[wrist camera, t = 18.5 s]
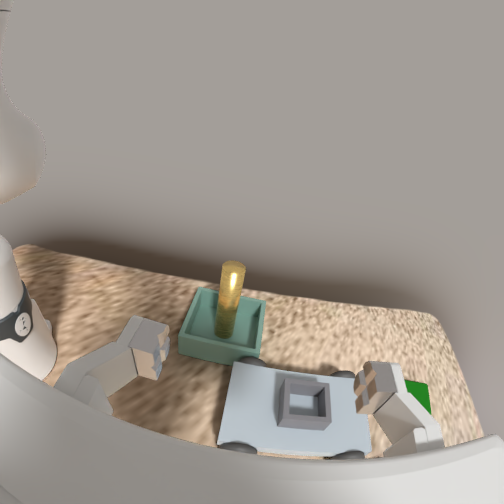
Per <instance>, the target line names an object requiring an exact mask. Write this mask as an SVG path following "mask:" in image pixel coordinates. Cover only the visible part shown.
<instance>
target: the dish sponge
mask: <svg viewBox="0 0 504 504" xmlns="http://www.w3.org/2000/svg"><path fill="white" fill-rule="evenodd" d="M404 381H405V385H406V388H407V392H408V393H411V394H412V395H413V396H414V397H415V398H416V400H417V401H418V402H419V403H420V404H421V405H422V406H423V407H424V408H425V409H426V410H427V411H428V412H429V414H430V415H431V407H430V399H429V392H428V385H427V384H425V383H419V382H414V381H408V380H404Z"/></svg>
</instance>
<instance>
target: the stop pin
mask: <svg viewBox="0 0 504 504" xmlns="http://www.w3.org/2000/svg"><path fill="white" fill-rule="evenodd" d="M245 270H246V267H245V266H244V265H243V264H242V263H240V262H238V261H227V262H225V263H224V264H223V267H222V275H221V282H220V289H219V296H218V304H217V312H216V320H215V327H214V333H215V335H216V336H217V337H219V338H221V339H228V338H230V337H231V336H232V335H233V331H234V326H235V321H236V316H237V311H238V306H239V300H240V295H241V290H242V285H243V280H244V275H245Z"/></svg>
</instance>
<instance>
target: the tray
mask: <svg viewBox="0 0 504 504" xmlns="http://www.w3.org/2000/svg"><path fill="white" fill-rule="evenodd" d="M218 296H219V291H216V290H212V289H207V288H203V287H199V288H198V290H197V292H196V295H195V297H194V299H193V301H192V304H191V306H190V308H189V311H188V313H187V315H186V318H185V320H184V323H183V325H182V327H181V330H180V332H179V334H178V353H179V354H183V355H186V356H190V357H194V358H198V359H202V360H206V361H211V362H215V363H219V364H224V365H229V366H233V364H234V361H235V362H237V361H238V360H240V359H241V358H244V357H254V358H258V357H259V354H260V347H261V339H262V331H263V322H264V314H265V305H266V301H263V300H259V299H254V298H249V297H244V296H240V300H239V306H238V311H237V316H236V321H235V326H234V331H233V335H232V336H231V337H230V338H228V339H221V338H219V337H217V336H216V335H215V333H214V327H215V320H216V312H217V304H218Z"/></svg>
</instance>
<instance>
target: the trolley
mask: <svg viewBox="0 0 504 504" xmlns="http://www.w3.org/2000/svg"><path fill="white" fill-rule="evenodd" d="M354 380H355V374H354V373H353V372H351V371H338V372H335V373H333V374H331V375H330V376H323V375H314V374H306V373H299V372H292V371H285V370H279V369H273V368H267V366H266V364H265V362H263V361H262V360H260V359H258V358H254V357H244V358H241V359H240V360H238V361H237V362H235V361H234V364H233V368H232V373H231V378H230V383H229V388H228V393H227V397H226V402H225V407H224V412H223V417H222V422H221V426H220V431H219V436H218V441H217V445H220V449H225V450H230V451H236V452H242V453H248V454H255V455H257V451H259V452H267V453H276V454H287V455H301V456H332V457H331V460H348V459H365V455H367V454H368V453H370V452H371V451H372V450H371V440H370V432H369V423H368V416H367V414H357V413H356V405H355V400H356V399H357V396H356V394H355V393H354V389H353V385H354Z"/></svg>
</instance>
